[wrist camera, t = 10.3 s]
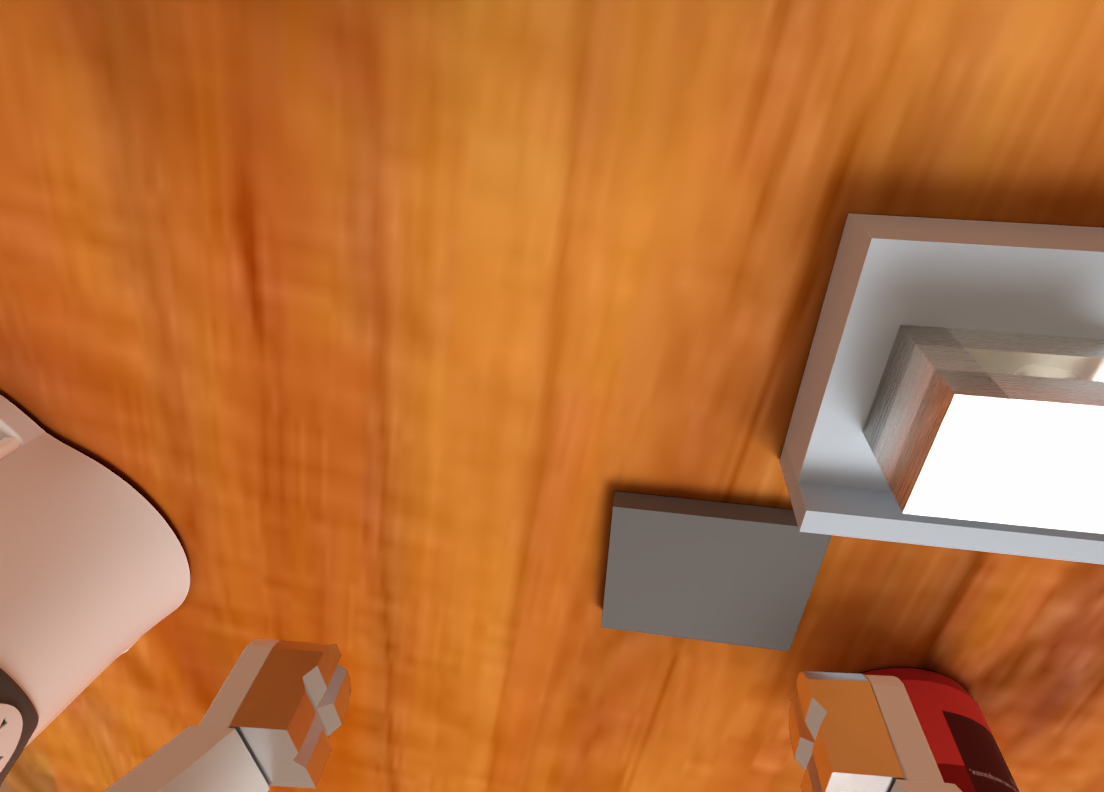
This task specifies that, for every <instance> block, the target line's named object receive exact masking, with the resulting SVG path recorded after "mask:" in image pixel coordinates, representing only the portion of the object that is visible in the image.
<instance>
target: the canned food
mask: <svg viewBox="0 0 1104 792" xmlns="http://www.w3.org/2000/svg"><path fill="white" fill-rule="evenodd" d="M861 674H862V675H881V676H895V677H897V678H898V679H899V680H900V681H901V682H902V683H903V684H904V687H905V689H906V692H907V694H908V696H909V699H910V701H911V704H912V706H913V708H914V711H915V713H916V716H917V718H918V720H919V723H920V725H921V728H922V730H923V732H924V735H925V737H926V740H927V742H928V744H929V747H930V749H931V752H932V754H933V757H934V759H935V761H936V764H937V766H938V769H939V771H940V773H941V776H942V778H943V781H944V783H951V784H955V785H956V786H957V787H958V788H959V789H960V790H961V791H962V792H1019V790H1018V788H1017V786H1016V784H1015V781H1014V779H1013V777H1012V775H1011V773H1010V771H1009V769H1008V767H1007V765H1006V762H1005V760H1004V758H1003V756H1002V754H1001V752H1000V750H999V748H998V746H997V743H996V741H995V739H994V737H993V735H992V733H991V731H990V729H989V727H988V724H987V722H986V720H985V718H984V716H983V714H982V712H981V710H980V708H979V706H978V704H977V703H976V702H975V701H974V700H973V698H972V697H971V696H970V695H969V694H968V693H967V692H966V690H965V689H964V688H963V687H962V686H961V685H960V684H959V683H957V682H955V681H954V680H952V679H950V678H949V677H946V676H944V675H941V674H939V673H936V672H931V671H927V670H922V669H915V668H886V669H878V670H873V671H869V672H865V673H861Z"/></svg>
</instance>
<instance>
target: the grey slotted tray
mask: <svg viewBox="0 0 1104 792" xmlns="http://www.w3.org/2000/svg"><path fill="white" fill-rule="evenodd" d="M900 325H913V326H927V327H941V328H955V329H969V330H983V331H997V332H1011V333H1024V334H1038V335H1052V336H1066V337H1080V338H1094V339H1104V228H1103V227H1085V226H1067V225H1049V224H1031V223H1013V222H995V221H977V220H959V219H941V218H923V217H905V216H887V215H869V214H851V213H848V216H847V220H846V223H845V227H844V230H843V234H842V238H841V241H840V245H839V248H838V252H837V256H836V259H835V263H834V266H833V270H832V274H831V277H830V281H829V284H828V288H827V292H826V295H825V299H824V302H823V306H822V310H821V313H820V317H819V320H818V324H817V328H816V331H815V335H814V339H813V342H812V346H811V349H810V353H809V357H808V360H807V364H806V367H805V371H804V375H803V378H802V382H801V385H800V389H799V393H798V396H797V400H796V403H795V407H794V411H793V414H792V418H791V421H790V425H789V429H788V432H787V436H786V439H785V443H784V447H783V450H782V454H781V457H780V464H781V468H782V472H783V475H784V479H785V482H786V486H787V489H788V493H789V496H790V500H791V504H792V507H793V511H794V514H795V518H796V521H797V525H798V528H799V532H807V533H816V534H826V535H835V536H844V537H853V538H863V539H872V540H881V541H890V542H900V543H909V544H918V545H927V546H937V547H946V548H955V549H965V550H974V551H983V552H992V553H1002V554H1011V555H1020V556H1029V557H1039V558H1048V559H1057V560H1066V561H1076V562H1085V563H1094V564H1103V565H1104V534H1100V533H1090V532H1080V531H1070V530H1061V529H1051V528H1041V527H1031V526H1021V525H1012V524H1002V523H992V522H982V521H973V520H963V519H953V518H943V517H933V516H924V515H914V514H904V513H902V511H901V509H900V507H899V505H898V503H897V501H896V499H895V497H894V495H893V493H892V491H891V489H890V487H889V485H888V483H887V481H886V479H885V477H884V475H883V473H882V471H881V469H880V467H879V464H878V462H877V460H876V458H875V456H874V454H873V452H872V450H871V448H870V446H869V444H868V442H867V440H866V438H865V436H864V434H863V432H862V431H863V428H864V425H865V423H866V420H867V417H868V414H869V411H870V408H871V406H872V403H873V400H874V397H875V394H876V392H877V389H878V386H879V383H880V380H881V378H882V375H883V372H884V369H885V366H886V364H887V361H888V358H889V355H890V352H891V350H892V347H893V344H894V341H895V338H896V336H897V333H898V330H899V327H900Z"/></svg>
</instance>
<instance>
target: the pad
mask: <svg viewBox="0 0 1104 792" xmlns="http://www.w3.org/2000/svg"><path fill="white" fill-rule="evenodd" d="M830 538H831V535H826V534H816V533H807V532H799V528H798V525H797V521H796V518H795V514H794V511H793V510H791V509H781V508H771V507H762V506H752V505H743V504H733V503H724V502H714V501H705V500H695V499H685V498H676V497H666V496H657V495H647V494H638V493H628V492H618V491H614V498H613V509H612V519H611V529H610V540H609V550H608V560H607V571H606V581H605V591H604V602H603V612H602V625H601V627H602V628H610V629H618V630H625V631H633V632H641V633H649V634H657V635H665V636H672V637H680V638H688V639H696V640H704V641H712V642H719V643H727V644H735V645H743V646H751V647H759V648H766V649H774V650H782V651H789V650H790V647H791V645H792V642H793V639H794V636H795V634H796V631H797V628H798V626H799V623H800V620H801V617H802V615H803V612H804V609H805V606H806V604H807V601H808V598H809V595H810V593H811V590H812V587H813V585H814V582H815V579H816V576H817V574H818V571H819V568H820V565H821V563H822V560H823V557H824V554H825V552H826V549H827V546H828V544H829V541H830Z"/></svg>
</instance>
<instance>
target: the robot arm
mask: <svg viewBox="0 0 1104 792" xmlns="http://www.w3.org/2000/svg"><path fill="white" fill-rule="evenodd" d="M189 586H190V570H189V565H188V561H187V558H186V555H185V553H184V550H183V548H182V546H181V544H180V542H179V540H178V539H177V537H176V535H175V534H174V532H173V531H172V529H171V528H170V526H169V525H168V524H167V522H166V521H165V520H164V519H163V517H162V516H161V515H160V514H159V513H158V511H157V510H156V509H155V508H154V507H153V506H152V505H151V504H150V503H149V502H148V501H147V500H146V499H145V498H144V497H143V496H142V495H141V494H140V493H139V492H137V491H136V490H135V489H134V488H133V487H132V486H130V485H129V484H128V483H127V482H125V481H124V480H123V479H121V478H120V477H119V476H117V475H116V474H115V473H113V472H112V471H110V470H109V469H107V468H106V467H104V466H103V465H101V464H100V463H98V462H96V461H95V460H93V459H91V458H90V457H88V456H86V455H84V454H82V453H81V452H79V451H77V450H75V449H73V448H71V447H70V446H68V445H66V444H64V443H62V442H61V441H59V440H57V439H56V438H54V437H52V436H51V435H49V434H48V433H46V432H45V431H44V430H43V429H42V428H41V427H39V426H38V425H37V424H36V423H35V422H34V421H33V420H32V419H30V418H29V417H28V416H27V415H26V414H25V413H23V412H22V411H21V410H20V409H19V408H17V407H16V406H15V405H14V404H13V403H11V402H10V401H9V400H7V399H6V398H4V397H3V396H1V395H0V786H1V784H2V782H3V781H4V779H5V777H6V776H7V774H8V773H9V771H10V770H11V768H12V767H13V765H14V764H15V762H16V761H17V759H18V757H19V756H20V754H21V753H22V751H23V749H24V748H25V747H26V746H27V745H28V744H29V743H30V742H31V741H32V740H33V739H35V738H36V737H37V736H38V735H39V734H40V733H41V732H42V731H43V730H44V729H45V728H46V727H47V726H48V725H49V724H50V723H51V722H52V721H53V720H54V719H55V718H56V717H57V716H58V715H59V714H60V713H61V712H62V711H63V710H64V709H65V708H66V707H67V706H68V705H69V704H70V703H71V702H72V701H73V700H74V699H75V698H76V697H77V696H78V695H79V694H80V693H81V692H82V691H83V690H84V689H85V688H86V687H87V686H88V685H89V684H91V683H92V682H93V681H94V680H95V679H96V678H97V677H98V676H99V675H100V674H101V673H102V672H103V671H104V670H105V669H106V668H107V667H108V666H109V665H110V664H111V663H112V662H113V661H114V660H115V659H117V658H118V657H119V656H120V655H121V654H124V653H125V652H127V651H128V650H129V649H130V648H131V647H132V646H133V645H134V644H135V643H136V642H137V641H138V640H139V638H140V637H141V636H142V635H144V634H145V633H146V632H147V631H148V630H150V629H151V628H152V627H153V626H155V625H156V624H157V623H158V622H160V621H161V620H162V619H164V618H165V617H166V616H168V615H169V614H170V613H172V612H173V611H175V610H176V609H177V608H178V607H179V606H180V605H181V604H182V603H183V601H184V600H185V598H186V596H187V594H188V591H189ZM340 658H341V653H340V651H339V649H338V647H337V644H325V643H311V642H296V641H284V640H271V639H254V640H253V641H252V642H251V643H250V644H248V645H247V646H246V647H245V649H244V650H243V652H242V654H241V655H240V657H239V659H238V660H237V662H236V664H235V665H234V667H233V669H232V670H231V672H230V674H229V675H228V677H227V679H226V680H225V682H224V684H223V685H222V687H221V689H220V690H219V692H218V694H217V695H216V697H215V699H214V700H213V702H212V704H211V705H210V707H209V709H208V710H207V712H206V714H205V715H204V717H203V719H202V720H201V722H200V724H199V725H190V726H189V727H187V728H186V729H185V730H183V731H182V732H181V733H179V734H178V735H177V736H176V737H174V738H173V739H172V740H170V741H169V742H168V743H166V744H165V745H164V746H162V747H161V748H160V749H159V750H157V751H156V752H155V753H153V754H152V755H151V756H149V757H148V758H147V759H145V760H144V761H143V762H142V763H140V764H139V765H138V766H136V767H135V768H134V769H132V770H131V771H130V772H128V773H127V774H126V775H125V776H123V777H122V778H121V779H119V780H118V781H117V782H115V783H114V784H113V785H111V786H110V787H109V788H107V789H106V790H105V791H104V792H267V791H268V790H269V789H270V787H269V786H284V787H302V788H316V787H317V784H318V782H319V780H320V777H321V775H322V772H323V770H324V767H325V765H326V762H327V760H328V757H329V755H330V752H331V750H332V749H331V745H330V740H329V735H330V734H331V733H332V732H334V731H335V730H336V729H337V728H338V727H339V726H340V725H341V724H342V722H343V719H344V717H345V714H346V711H347V709H348V704H349V698H350V693H351V685H350V677H349V675H348V672H347V670H346V669H344V668H343V667H342V666H340V665H339V664H338V662H339V660H340ZM796 687H797V691H798V695H797V696H796V697H794V698H793V699H792V700H791V704H790V709H789V731H790V739H791V745H792V749H793V754H794V758H795V759H796V761H797V762H798V763H799V764H800V765H801V766H802V768H803V769H804V770H805V774H804V778H803V781H802V784H801V790H802V792H962V791H961V790H960V789H959V788H958V787H957V786H956V785H955V784H951V783H944V781H943V778H942V776H941V773H940V771H939V769H938V766H937V764H936V761H935V759H934V757H933V754H932V752H931V749H930V747H929V744H928V742H927V740H926V737H925V735H924V732H923V730H922V728H921V725H920V723H919V720H918V718H917V716H916V713H915V711H914V708H913V706H912V704H911V701H910V699H909V696H908V694H907V692H906V689H905V687H904V684H903V683H902V682H901V681H900V680H899V679H898V678H897V677H895V676H881V675H862V674H857V673H833V672H809V671H802V672H800V673H799V674H798V677H797V681H796Z"/></svg>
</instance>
